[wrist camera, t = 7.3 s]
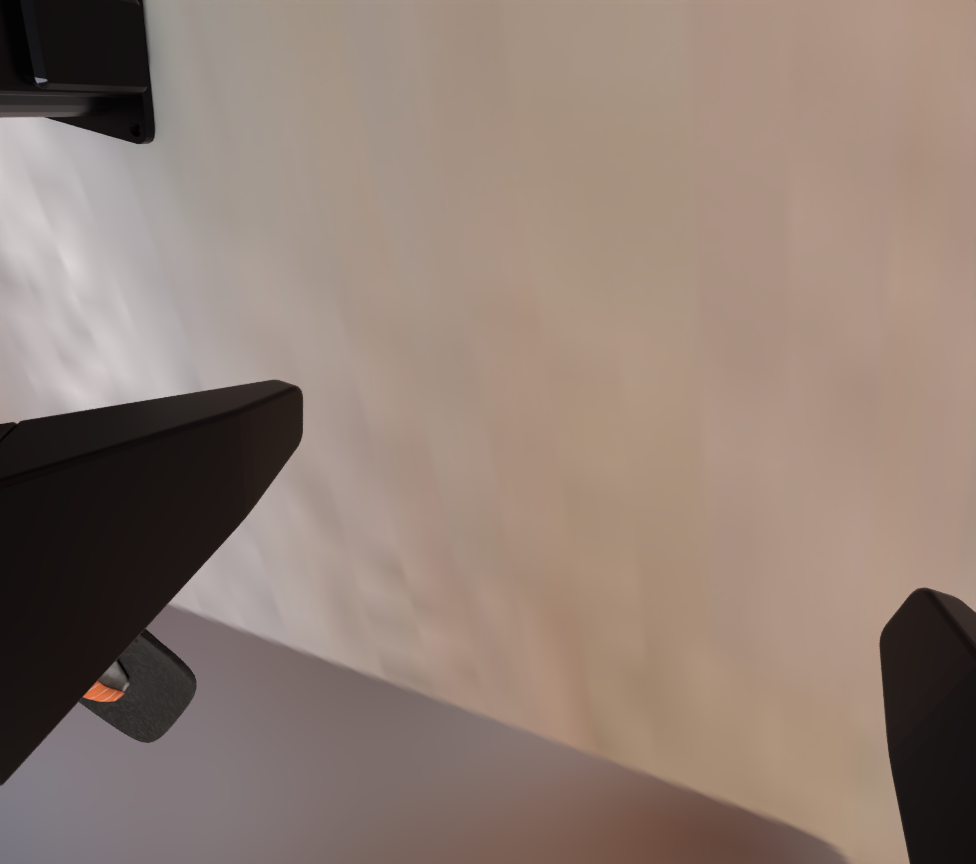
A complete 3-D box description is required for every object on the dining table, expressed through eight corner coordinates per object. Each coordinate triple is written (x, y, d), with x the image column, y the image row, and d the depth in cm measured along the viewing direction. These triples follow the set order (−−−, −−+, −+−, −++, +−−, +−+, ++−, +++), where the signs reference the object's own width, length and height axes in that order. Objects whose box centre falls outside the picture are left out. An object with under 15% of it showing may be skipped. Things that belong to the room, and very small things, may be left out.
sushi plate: (-138, 509, 45) (-201, 539, 42) (-145, 180, 29) (-250, 189, 25) (167, 731, 47) (129, 776, 44) (320, 546, 31) (277, 596, 28)
